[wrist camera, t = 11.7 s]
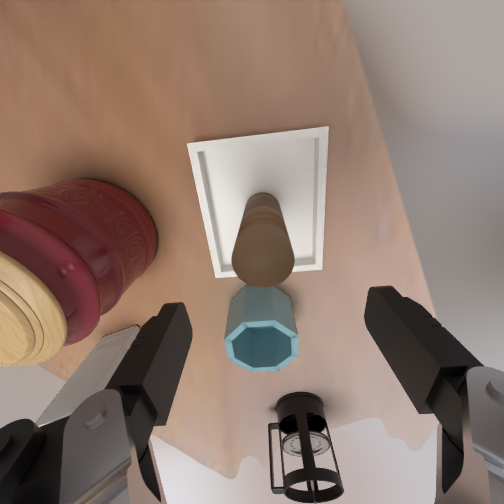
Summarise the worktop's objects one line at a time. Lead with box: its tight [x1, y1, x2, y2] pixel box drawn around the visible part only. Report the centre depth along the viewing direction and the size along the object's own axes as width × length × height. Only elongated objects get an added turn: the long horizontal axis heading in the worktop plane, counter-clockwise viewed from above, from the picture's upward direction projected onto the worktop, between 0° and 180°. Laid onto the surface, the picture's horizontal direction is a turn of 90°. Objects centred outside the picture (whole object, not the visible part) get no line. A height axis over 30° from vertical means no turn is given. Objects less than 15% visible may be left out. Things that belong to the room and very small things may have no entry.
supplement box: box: [35, 325, 140, 427], centre depth 30 cm, size 7×7×13 cm
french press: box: [268, 392, 344, 504], centre depth 33 cm, size 12×9×23 cm
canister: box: [0, 179, 157, 367], centre depth 19 cm, size 13×13×18 cm
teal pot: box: [224, 285, 298, 372], centre depth 29 cm, size 9×9×7 cm
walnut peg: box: [231, 192, 295, 288], centre depth 19 cm, size 4×4×12 cm
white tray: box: [187, 126, 329, 278], centre depth 24 cm, size 15×13×2 cm
